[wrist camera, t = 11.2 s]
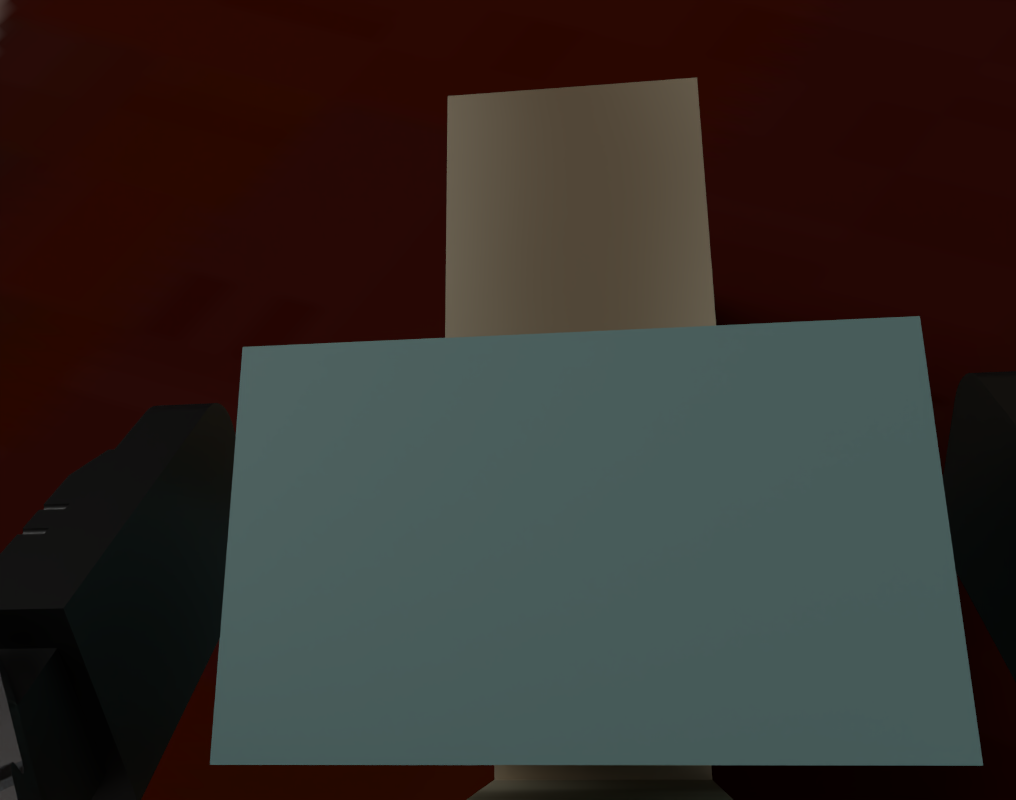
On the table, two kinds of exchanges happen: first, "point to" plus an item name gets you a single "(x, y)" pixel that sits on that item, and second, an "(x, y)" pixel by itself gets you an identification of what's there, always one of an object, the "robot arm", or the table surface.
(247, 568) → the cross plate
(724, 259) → the table surface
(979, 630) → the table surface
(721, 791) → the slot plate
